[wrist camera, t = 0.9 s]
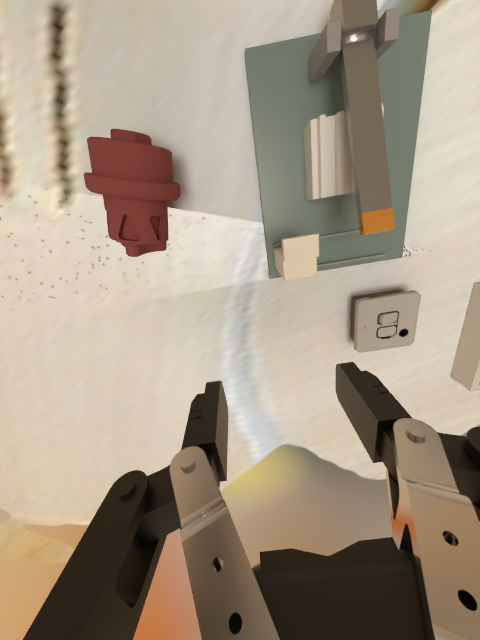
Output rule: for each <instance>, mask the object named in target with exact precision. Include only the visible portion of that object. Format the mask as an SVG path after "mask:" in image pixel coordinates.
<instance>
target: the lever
mask: <svg viewBox="0 0 480 640" xmlns="http://www.w3.org/2000/svg"><path fill="white" fill-rule="evenodd" d="M330 16H331V21H336V20H340V19H341V44H340V52H339V53H338V55H337V56H339V58H340V67H341V76H342V84H343V93H344V101H345V110H346V118H347V127H348V135H349V144H350V152H351V161H352V169H353V178H354V186H355V195H356V203H357V212H358V220H359V229H360V236H362V235H368V234H374V233H380V232H385V231H390V230H392V229H395V227H394V217H393V208H392V198H391V189H390V180H389V170H388V161H387V151H386V142H385V133H384V123H383V114H382V104H381V95H380V86H379V76H378V67H377V57H376V48H375V41H376V38H377V25H378V23H379V22H378V13H377V3H376V0H334V2H333V5H332V9H331V12H330Z"/></svg>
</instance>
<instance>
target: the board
mask: <svg viewBox="0 0 480 640" xmlns="http://www.w3.org/2000/svg"><path fill="white" fill-rule="evenodd" d="M431 14H432V10H431V11H426V12H421V13H416V14H411V15H406V16H402V17H400V7H398V8H393V9H388V10H386V11H385V13H384V14H383V15H382V17H381V18H380V19H379V20H378V22H379V23H378V25H377V38H376V41H375V48H376V57H377V67H378V76H379V86H380V95H381V104H382V114H383V123H384V133H385V142H386V151H387V161H388V170H389V180H390V189H391V198H392V208H393V217H394V227H395V229H392V230H390V231H385V232H380V233H374V234H368V235H362V236H360V229H359V220H358V212H357V203H356V195H355V186H354V178H353V169H352V161H351V152H350V144H349V135H348V127H347V118H346V110H345V101H344V93H343V84H342V76H341V67H340V58H339V56H337V55H338V53H339V52H340V44H341V19H340V20H336V21H331V22H327V24H326V26H325V28H324V30H323V32H322V33H319V34H315V35H310V36H305V37H300V38H295V39H290V40H286V41H281V42H276V43H271V44H266V45H261V46H257V47H252V48H247V49H245V62H246V71H247V80H248V89H249V98H250V107H251V116H252V125H253V134H254V143H255V152H256V161H257V170H258V179H259V188H260V197H261V206H262V215H263V224H264V233H265V242H266V251H267V259H268V268H269V277H270V279H273V278H279V277H282V276H281V275H280V273H279V272H278V271H277V269H276V265H275V254H274V248H277V247H282V240H281V239H285V238H290V237H296V236H302V235H308V234H314V233H317V234H319V257H317V271H322V270H328V269H334V268H340V267H347V266H353V265H359V264H365V263H371V262H377V261H383V260H389V259H395V258H402V254H403V246H404V238H405V229H406V221H407V213H408V205H409V196H410V188H411V180H412V172H413V163H414V155H415V147H416V139H417V130H418V122H419V114H420V105H421V97H422V89H423V81H424V72H425V64H426V56H427V48H428V39H429V31H430V23H431Z"/></svg>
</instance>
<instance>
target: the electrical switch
mask: <svg viewBox="0 0 480 640" xmlns="http://www.w3.org/2000/svg"><path fill="white" fill-rule="evenodd" d="M420 297H421V295H420V294H419V293H418V292H417V291H414V290H411V291H406V292H403V291H400V290H398V291H391V292H385V293H379V294H372V295H366V296H360V297H353V298H352V326H351V338H352V339H353V340H354V349H355V350H357V351H358V352H367V351H374V350H381V349H388V348H395V347H402V346H409V345H411V344H412V343H413V342H414V337H415V330H416V324H417V317H418V310H419V304H420Z"/></svg>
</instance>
